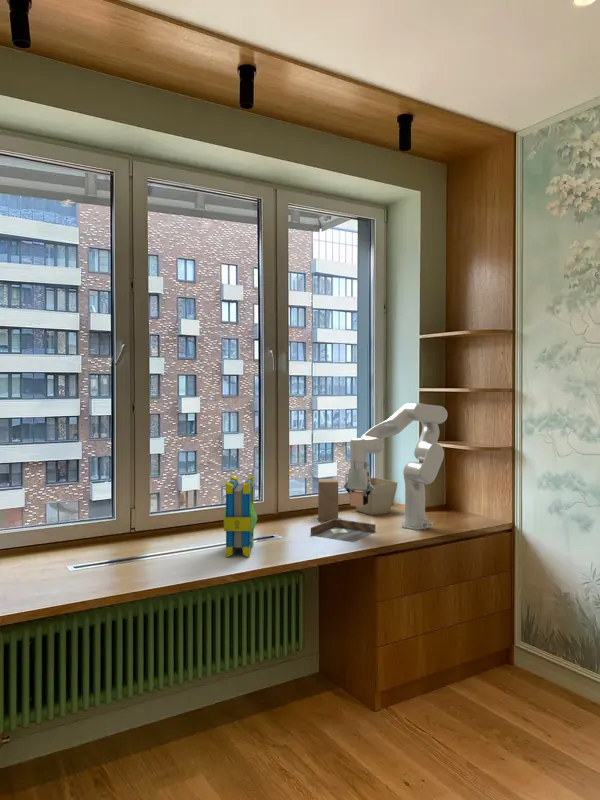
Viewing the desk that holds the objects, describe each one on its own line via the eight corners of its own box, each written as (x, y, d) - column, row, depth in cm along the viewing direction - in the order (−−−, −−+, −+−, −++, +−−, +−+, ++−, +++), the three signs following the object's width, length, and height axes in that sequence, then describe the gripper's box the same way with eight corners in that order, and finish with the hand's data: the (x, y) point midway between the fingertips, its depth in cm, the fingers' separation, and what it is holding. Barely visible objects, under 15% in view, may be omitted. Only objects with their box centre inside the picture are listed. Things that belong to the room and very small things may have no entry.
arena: (375, 532, 286) (375, 524, 286) (353, 543, 268) (353, 534, 268) (334, 526, 298) (334, 518, 298) (310, 536, 280) (310, 527, 279)
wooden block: (338, 521, 310) (338, 481, 309) (318, 521, 310) (318, 481, 310) (337, 517, 320) (337, 478, 319) (318, 516, 320) (318, 478, 320)
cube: (367, 504, 285) (367, 491, 285) (361, 506, 280) (361, 493, 280) (356, 503, 288) (356, 490, 288) (350, 505, 283) (350, 492, 283)
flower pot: (398, 513, 329) (398, 482, 329) (370, 517, 319) (370, 485, 319) (375, 507, 345) (375, 477, 345) (348, 511, 335) (348, 480, 335)
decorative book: (219, 558, 244) (219, 483, 243) (227, 543, 267) (227, 474, 266) (255, 558, 244) (255, 483, 243) (259, 543, 267) (259, 474, 266)
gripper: (379, 465, 282) (379, 504, 283) (345, 462, 291) (346, 500, 292) (371, 467, 276) (372, 507, 276) (338, 464, 285) (338, 503, 286)
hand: (359, 503), depth 284 cm, fingers closed on cube, 6 cm apart
